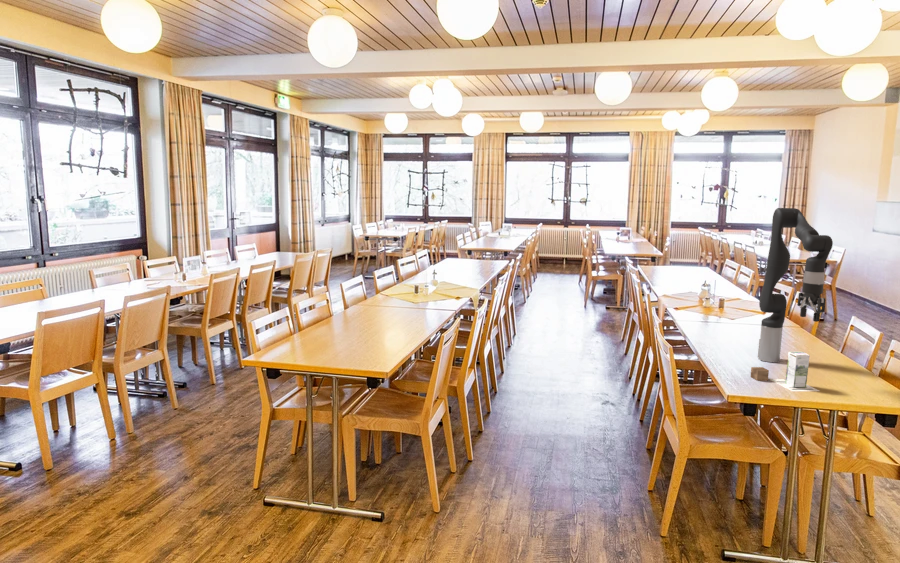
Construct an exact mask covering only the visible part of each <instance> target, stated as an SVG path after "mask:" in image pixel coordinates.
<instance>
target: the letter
mask: <svg viewBox="0 0 900 563" xmlns="http://www.w3.org/2000/svg"><path fill="white" fill-rule="evenodd" d="M769 380H770V381H772V382H773V383H775V384H777V385H779V386H781V387H783V388H785V389H786V390H789V391H791V392H793V393H795V392H820V390H819V389H817V388H814V387H813V386H811V385H809V384H808V383H807V384H806V387H803V388H793V387H791V386H789V385H787V384H786V383H785V381H786V378H785V379H784V378H783V379H782V378H779V379H778V378H776V379H773V378H772V379H769V378H768V381H769Z"/></svg>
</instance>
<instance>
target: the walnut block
mask: <svg viewBox="0 0 900 563" xmlns="http://www.w3.org/2000/svg"><path fill="white" fill-rule="evenodd" d="M769 373H770V372H769V369H767V368H765V367H763V366H751V369H750V379H751V378H752V379H753V380H754V381H757V382H759V381H760V382H761V381H762V382H763V381H769V375H770V374H769Z"/></svg>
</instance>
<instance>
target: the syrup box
mask: <svg viewBox="0 0 900 563" xmlns="http://www.w3.org/2000/svg"><path fill="white" fill-rule="evenodd" d="M809 365H810V354H808V353H806V352H804V351H788V353H787V364H786V372H785V379H786V381H785V383H786V384H787V385H789V386H791V387H793V388H803V387H806V384H807V385H808V382H807V381H808V374H809V367H810V366H809Z"/></svg>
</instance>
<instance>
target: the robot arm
mask: <svg viewBox="0 0 900 563" xmlns="http://www.w3.org/2000/svg"><path fill="white" fill-rule="evenodd" d="M771 220H772V222H771V224H772V225H771V238H770V245H769V250H768V253H767V254H768V255H767V262H766V268H765V275H764V280H763V284H762V285H763V286H762V289H761V293H760V297H759V301H758V302H759V309H760V311H761V312H763V313H771V315H770V316H767V317H765V318H763V319H762V320H761V323H760V324H761V327H760V337H759V339H758V348H757V358H758V360H759V361H763V362H765V363H766V362H767V363H779V362H780V359H781V351H782V350H781V349H782V339H783V338H782V337H783V327H784V323H785V318H786V311H787V306H788V305H787V302H788V301H787V297H786V296H785V295H784V294H782V293H774V290H775V287H776V285H777V284H778V283H779V281H780V280H781V279H782V278H783V277H784V276H785V274H786V273H787V272H788V270H789V266H790V259H791V254H790V251H789V248H787V245H786V243H785V241H784V239H783V234H782V233H783V228H786V229H789V228H790V229H791V228H792V229H793V228H794V233H795V234H794V235H795V236H796V238H798V239H799V240H800V241H801V244H802V246H803V247H802V248H803V250H805V251H806V252H811V253H812V252H813V253H814V252H815V253H817V255H814V256H810V257H808V258H806V261H805V268H804V269H805V270H804V274H803V280H802V288H801V289H802V291H801V292H799V293H798V297H797V298H798V299H797V304H796V305H797V306H798V307H799V308H800V313H799V316H800V317H801V318H806V317H807V310H808V308H809V306H810V307H811V309H813V318H812V321H813V322H814V323H815V322H817V323H818V322H820V317H821V313H825V312H826V298H825V297H821V295H822V294H823V293H824V286H825V271H826V270H825V269H826V262H827V259H828V258H829V254H830V253H831V251H832V248H833V244H834V243H833V239H832V237H831V235H828V234H827V235H826V234H825V235H824V234H819V232H818V231H817V230H816V229H815V228H814V227H812V226H811V224H809V222H808V220H807V219H806V217H805V216H804V214H803V213H802V211H801V210H800V209H798V208H796V207H795V208H794V207H777V208H776V209H775V210H774V212H773V215H772V219H771Z"/></svg>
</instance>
